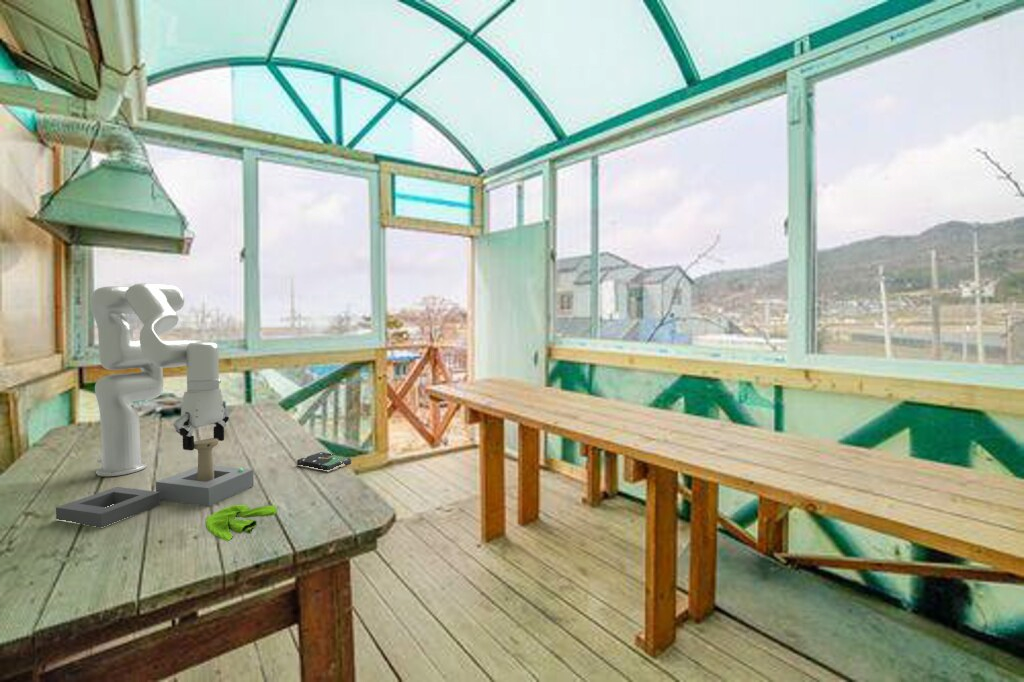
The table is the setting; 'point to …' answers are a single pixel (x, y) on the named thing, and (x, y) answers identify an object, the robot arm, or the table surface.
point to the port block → (205, 486)
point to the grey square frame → (99, 516)
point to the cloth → (225, 520)
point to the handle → (205, 458)
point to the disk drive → (324, 461)
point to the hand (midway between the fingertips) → (204, 444)
